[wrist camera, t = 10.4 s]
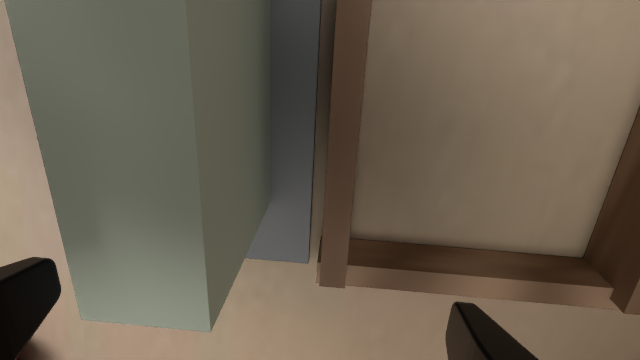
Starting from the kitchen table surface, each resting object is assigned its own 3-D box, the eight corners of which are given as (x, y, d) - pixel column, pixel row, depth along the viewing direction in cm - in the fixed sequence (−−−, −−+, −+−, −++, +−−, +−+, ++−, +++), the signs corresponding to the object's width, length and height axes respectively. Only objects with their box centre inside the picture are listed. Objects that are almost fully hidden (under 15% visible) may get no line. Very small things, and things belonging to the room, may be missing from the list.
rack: (1067, -216, 12) (1326, -304, 9) (758, 292, 20) (837, 343, 17) (349, -231, 13) (349, -314, 10) (319, 254, 21) (314, 296, 18)
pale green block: (270, -68, 15) (170, -189, 7) (270, 202, 20) (210, 332, 11) (172, -73, 15) (-43, -196, 7) (194, 196, 20) (81, 319, 11)
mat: (329, -171, 14) (329, -178, 14) (309, 258, 21) (308, 263, 21) (112, -177, 14) (104, -184, 14) (164, 246, 22) (160, 250, 21)
